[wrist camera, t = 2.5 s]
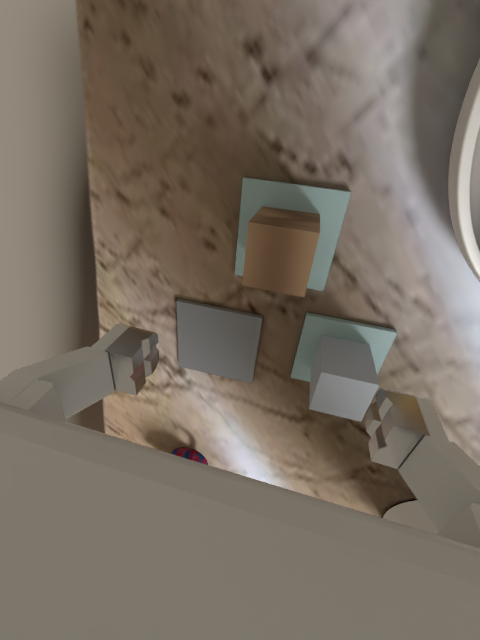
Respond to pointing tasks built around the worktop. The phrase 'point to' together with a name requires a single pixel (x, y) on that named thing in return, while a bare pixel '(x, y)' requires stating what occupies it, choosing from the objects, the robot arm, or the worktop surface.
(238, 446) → the worktop surface
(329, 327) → the code tile
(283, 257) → the walnut block
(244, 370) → the slate coaster
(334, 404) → the blue-grey block
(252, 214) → the code tile
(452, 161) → the bowl
